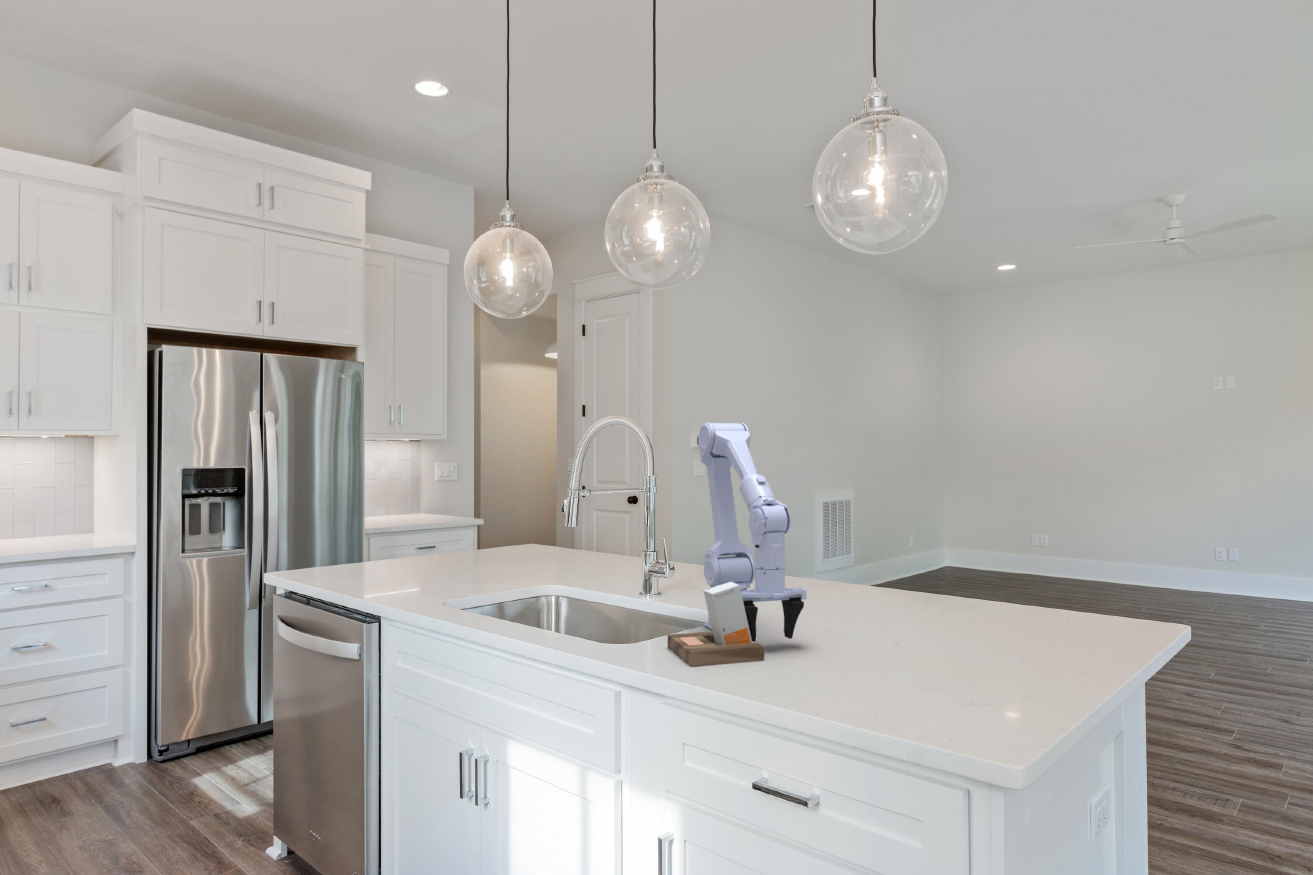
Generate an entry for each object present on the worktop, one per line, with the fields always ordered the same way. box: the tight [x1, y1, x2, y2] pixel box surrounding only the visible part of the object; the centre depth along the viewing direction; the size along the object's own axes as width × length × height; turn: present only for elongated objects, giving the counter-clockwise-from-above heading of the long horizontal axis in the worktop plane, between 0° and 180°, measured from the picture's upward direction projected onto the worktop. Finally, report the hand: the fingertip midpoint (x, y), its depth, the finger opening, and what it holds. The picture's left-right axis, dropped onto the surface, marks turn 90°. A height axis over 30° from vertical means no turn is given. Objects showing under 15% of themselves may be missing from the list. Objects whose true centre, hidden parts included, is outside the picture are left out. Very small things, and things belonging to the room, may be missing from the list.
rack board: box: [667, 630, 765, 668], centre depth 146 cm, size 14×14×3 cm
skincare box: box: [703, 582, 753, 646], centre depth 147 cm, size 6×4×12 cm
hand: (770, 638), depth 149 cm, fingers open, 7 cm apart
